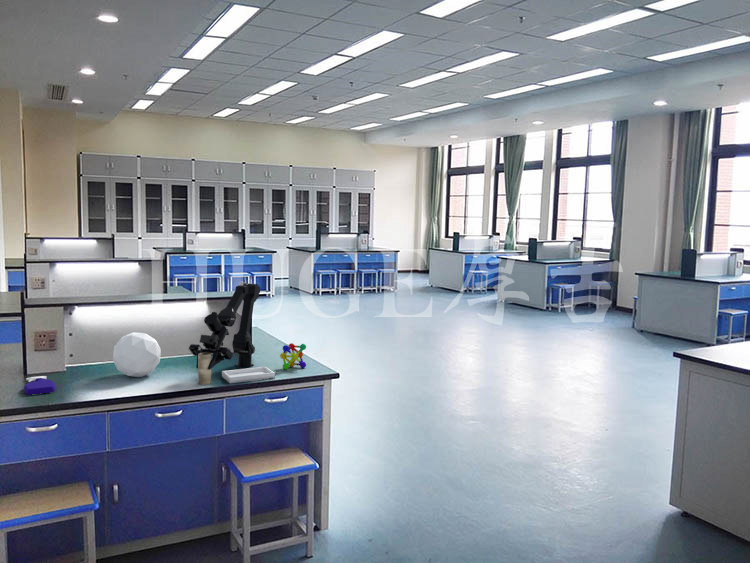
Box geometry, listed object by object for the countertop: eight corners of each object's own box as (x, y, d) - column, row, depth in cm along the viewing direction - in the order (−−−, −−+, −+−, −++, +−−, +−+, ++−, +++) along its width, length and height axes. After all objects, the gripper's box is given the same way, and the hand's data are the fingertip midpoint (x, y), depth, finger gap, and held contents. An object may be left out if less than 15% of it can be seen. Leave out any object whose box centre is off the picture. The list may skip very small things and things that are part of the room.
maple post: (196, 382, 259) (195, 353, 258) (206, 380, 263) (206, 351, 262) (202, 385, 256) (202, 355, 254) (213, 383, 259) (213, 353, 258)
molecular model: (283, 370, 283) (284, 345, 282) (278, 367, 289) (279, 342, 288) (307, 368, 288) (307, 344, 287) (301, 365, 295) (302, 341, 293)
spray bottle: (56, 386, 241) (51, 372, 261) (24, 389, 235) (22, 375, 256) (56, 393, 241) (52, 379, 262) (24, 397, 235) (22, 382, 256)
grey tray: (229, 383, 260) (229, 377, 260) (222, 376, 270) (222, 371, 270) (274, 378, 270) (274, 372, 269) (265, 371, 280) (265, 366, 280)
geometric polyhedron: (148, 392, 268) (161, 361, 258) (101, 378, 262) (112, 346, 252) (158, 362, 283) (171, 332, 273) (114, 348, 277) (125, 317, 267)
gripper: (190, 325, 263) (175, 356, 254) (229, 328, 258) (214, 360, 248) (201, 340, 272) (186, 370, 262) (238, 343, 266) (225, 374, 257)
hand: (202, 368), depth 257 cm, fingers closed on maple post, 5 cm apart
